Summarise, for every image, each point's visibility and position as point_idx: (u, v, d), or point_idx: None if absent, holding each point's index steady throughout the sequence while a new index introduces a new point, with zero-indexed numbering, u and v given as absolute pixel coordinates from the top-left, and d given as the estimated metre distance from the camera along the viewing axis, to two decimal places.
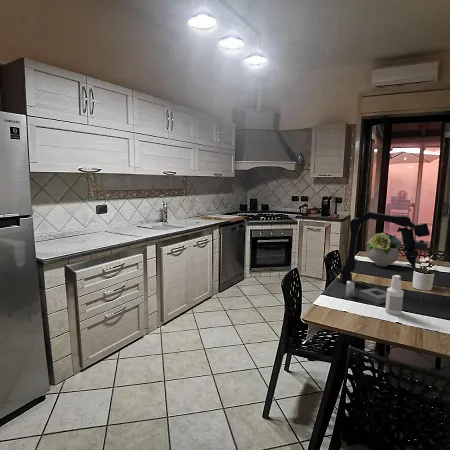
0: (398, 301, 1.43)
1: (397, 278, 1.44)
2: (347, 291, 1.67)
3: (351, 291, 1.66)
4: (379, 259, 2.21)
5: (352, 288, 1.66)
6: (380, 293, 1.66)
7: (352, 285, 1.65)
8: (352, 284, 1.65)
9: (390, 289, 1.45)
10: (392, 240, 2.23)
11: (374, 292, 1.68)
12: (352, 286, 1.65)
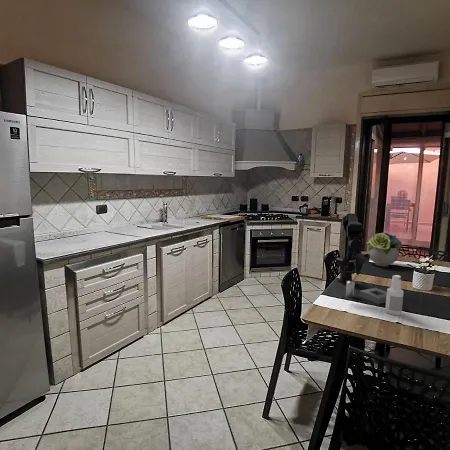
0: (398, 301, 1.43)
1: (397, 278, 1.44)
2: (347, 291, 1.67)
3: (351, 291, 1.66)
4: (379, 259, 2.21)
5: (352, 288, 1.66)
6: (380, 293, 1.66)
7: (352, 285, 1.65)
8: (352, 284, 1.65)
9: (390, 289, 1.45)
10: (392, 240, 2.23)
11: (374, 292, 1.68)
12: (352, 286, 1.65)
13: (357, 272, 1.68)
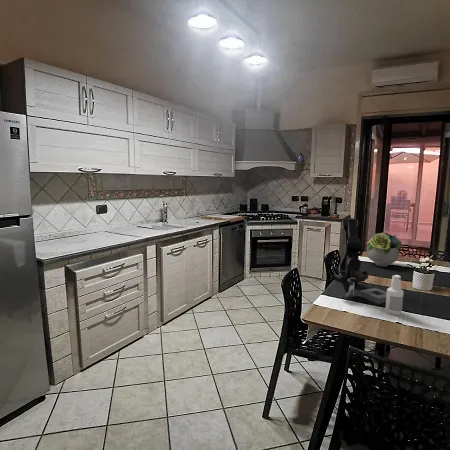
0: (398, 301, 1.43)
1: (397, 278, 1.44)
2: None
3: (351, 291, 1.66)
4: (379, 259, 2.21)
5: (352, 288, 1.66)
6: (380, 293, 1.66)
7: (352, 285, 1.65)
8: (352, 284, 1.65)
9: (390, 289, 1.45)
10: (392, 240, 2.23)
11: (374, 292, 1.68)
12: (352, 286, 1.65)
13: None
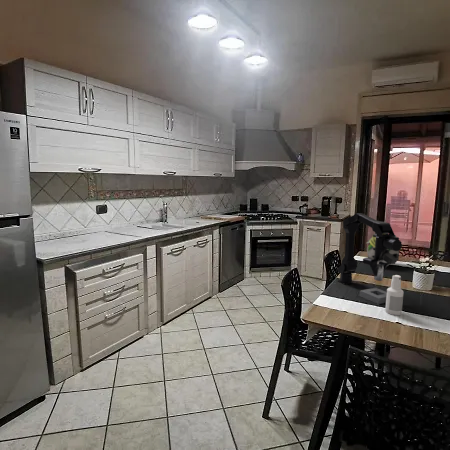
0: (398, 301, 1.43)
1: (397, 278, 1.44)
2: None
3: (380, 274, 1.61)
4: None
5: (381, 271, 1.61)
6: (380, 293, 1.66)
7: (381, 268, 1.61)
8: (381, 267, 1.61)
9: (390, 289, 1.45)
10: None
11: (374, 292, 1.68)
12: (381, 269, 1.61)
13: None
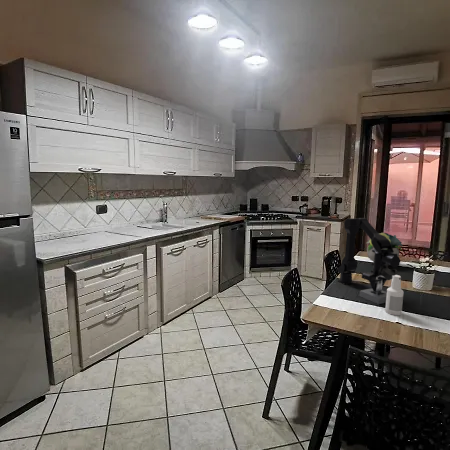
0: (398, 301, 1.43)
1: (397, 278, 1.44)
2: None
3: (379, 289, 1.63)
4: None
5: (380, 286, 1.62)
6: None
7: (379, 283, 1.62)
8: (380, 282, 1.62)
9: (390, 289, 1.45)
10: (392, 240, 2.23)
11: None
12: (380, 284, 1.62)
13: None
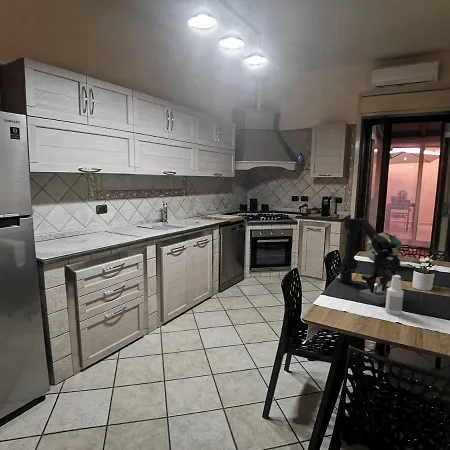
0: (398, 301, 1.43)
1: (397, 278, 1.44)
2: (374, 293, 1.64)
3: (379, 293, 1.63)
4: None
5: (380, 290, 1.63)
6: None
7: (379, 287, 1.62)
8: (380, 286, 1.62)
9: (390, 289, 1.45)
10: (392, 240, 2.23)
11: None
12: (380, 288, 1.63)
13: (382, 288, 1.66)
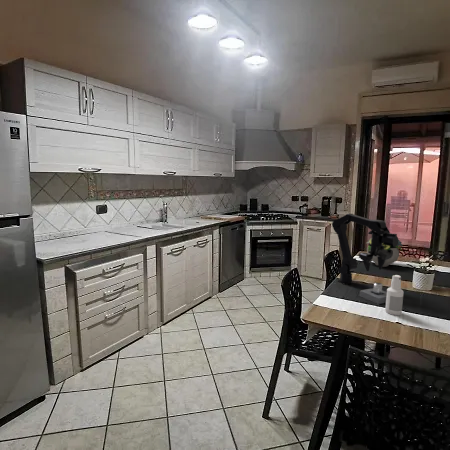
0: (398, 301, 1.43)
1: (397, 278, 1.44)
2: (374, 293, 1.64)
3: (379, 293, 1.63)
4: None
5: (380, 290, 1.63)
6: None
7: (379, 287, 1.62)
8: (380, 286, 1.62)
9: (390, 289, 1.45)
10: None
11: None
12: (380, 288, 1.63)
13: (379, 267, 1.76)
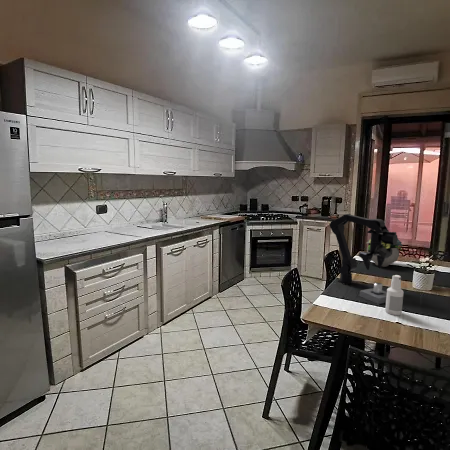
0: (398, 301, 1.43)
1: (397, 278, 1.44)
2: (374, 293, 1.64)
3: (379, 293, 1.63)
4: None
5: (380, 290, 1.63)
6: None
7: (379, 287, 1.62)
8: (380, 286, 1.62)
9: (390, 289, 1.45)
10: None
11: None
12: (380, 288, 1.63)
13: (379, 266, 1.77)
